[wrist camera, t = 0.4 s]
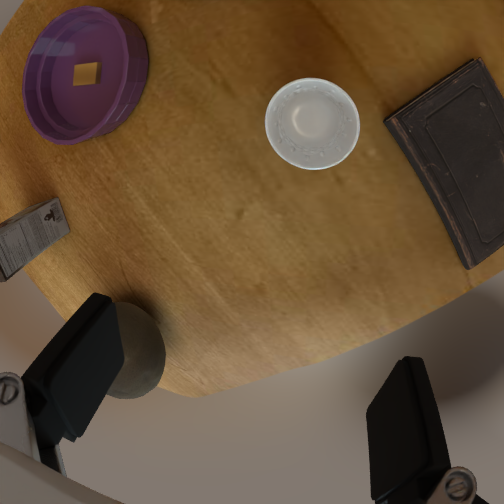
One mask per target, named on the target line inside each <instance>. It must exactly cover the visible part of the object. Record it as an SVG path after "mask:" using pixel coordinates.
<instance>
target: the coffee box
mask: <svg viewBox="0 0 504 504" xmlns="http://www.w3.org/2000/svg"><path fill="white" fill-rule="evenodd" d="M69 232H70V229H69V227H68V224H67V221H66V219H65V216H64V213H63V210H62V207H61V205H60V202H59V199H58V197H57V198H53V199H50V200H47V201H44V202H41V203H38V204H36V205H33V206H30V207H28V208H26V209H24V210H23V211H21V212H19V213H17V214H16V215H14V216H12V217H11V218H9V219H7V220H6V221H4V222H2V223H1V224H0V282H5V281H7V280H8V279H9V278H10V277H12V276H13V275H14V274H15V273H16V272H18V271H19V270H20V269H21V268H23V267H24V266H25V265H26V264H28V263H29V262H30V261H32V260H33V259H34V258H35V257H37V256H38V255H39V254H40V253H42V252H43V251H44V250H46V249H47V248H48V247H50V246H51V245H52V244H54V243H55V242H56V241H58V240H59V239H60V238H62V237H63V236H64V235H66V234H67V233H69Z"/></svg>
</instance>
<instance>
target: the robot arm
mask: <svg viewBox="0 0 504 504" xmlns="http://www.w3.org/2000/svg"><path fill="white" fill-rule="evenodd" d="M124 360H125V357H124V351H123V346H122V341H121V335H120V330H119V324H118V318H117V312H116V305H115V303H114V302H112V299H111V298H110V297H109V296H106V295H102V294H99V293H96V292H95V293H93V294H92V295H91V296H90V297H89V298H88V299H87V300H86V301H85V302H84V303H83V304H82V306H81V307H80V308H79V309H78V310H77V311H76V312H75V313H74V314H73V316H72V317H71V318H70V319H69V320H68V321H67V322H66V323H65V325H64V326H63V327H62V328H61V329H60V330H59V332H58V333H57V334H56V335H55V336H54V337H53V339H52V340H51V341H50V342H49V343H48V344H47V346H46V347H45V348H44V349H43V351H42V352H41V353H40V354H39V355H38V357H37V358H36V359H35V360H34V361H33V363H32V364H31V365H30V366H29V368H28V369H27V370H26V372H25V373H24V374H23V376H22V377H21V378H20V377H19V376H18V375H17V374H15V373H11V372H3V373H0V504H124V503H121V502H119V501H117V500H114V499H112V498H109V497H107V496H105V495H103V494H100V493H98V492H96V491H94V490H92V489H90V488H87V487H85V486H83V485H81V484H79V483H77V482H75V481H73V480H71V479H69V478H67V475H66V471H65V468H64V464H63V460H62V456H61V452H60V448H59V442H60V440H61V439H62V437H64V438H66V439H68V440H70V441H71V442H75V440H76V438H77V437H81V436H82V435H83V434H84V432H85V430H86V428H87V426H88V425H89V423H90V421H91V419H92V418H93V416H94V414H95V412H96V411H97V409H98V407H99V405H100V404H101V402H102V400H103V398H104V397H105V395H106V393H107V392H108V390H109V388H110V387H111V385H112V383H113V381H114V380H115V378H116V376H117V375H118V373H119V371H120V370H121V368H122V366H123V364H124ZM366 420H367V432H368V445H369V461H370V484H371V498H372V500H375V504H489V503H487V502H486V501H485V500H483V499H482V498H481V497H479V496H478V495H477V494H476V491H477V482H476V478H475V477H474V475H473V473H472V472H471V471H470V470H468V469H466V468H464V467H458V466H457V467H453V468H451V463H450V459H449V453H448V449H447V444H446V440H445V435H444V431H443V427H442V423H441V419H440V415H439V411H438V407H437V404H436V401H435V398H434V394H433V391H432V388H431V384H430V381H429V377H428V374H427V371H426V368H425V365H424V361H423V359H422V358H420V357H410V356H405V357H404V358H403V359H402V360H399V361H398V362H397V363H396V365H395V367H394V368H393V370H392V371H391V373H390V375H389V376H388V378H387V379H386V381H385V383H384V384H383V386H382V388H381V389H380V390H379V392H378V393H377V395H376V396H375V398H374V399H373V401H372V402H371V404H370V405H369V407H368V409H367V412H366Z"/></svg>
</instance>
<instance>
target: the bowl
mask: <svg viewBox="0 0 504 504" xmlns="http://www.w3.org/2000/svg"><path fill="white" fill-rule="evenodd" d="M94 62H101V63H102V69H101V79H100V84H91V85H79V86H73V78H74V67H75V65H79V64H86V63H94ZM147 69H148V54H147V48H146V43H145V39H144V37H143V35H142V34H141V32H140V30H139V29H138V27H137V25H136V24H135V23H134V22H132V21H131V20H129V19H128V18H126V17H125V16H124V15H122V14H119V13H116V12H113V11H110V10H107V9H104V8H100V7H93V6H81V7H77V8H74V9H70V10H67V11H66V12H64V13H62V14H61V15H59V16H58V17H56V18H55V19H53V20H52V21H51V22H50V23H49V24H48V25H47V26H46V28H45V29H44V30H43V31H42V32H41V33H40V34H39V36H38V38H37V39H36V41H35V43H34V45H33V47H32V48H31V50H30V52H29V55H28V58H27V61H26V65H25V68H24V73H23V84H22V95H23V101H24V107H25V111H26V113H27V116H28V118H29V120H30V122H31V124H32V126H33V127H34V129H35V130H36V131H37V132H38V133H39V134H40V135H41V136H42V137H43V138H45V139H47V140H49V141H51V142H53V143H55V144H62V145H73V144H77V143H80V142H83V141H87V140H90V139H94V138H96V137H99V136H102V135H105V134H107V133H110V132H111V131H113V130H114V129H115V128H116V127H118V126H119V125H120V124H121V123H123V122H124V121H125V120H126V119H127V117H128V116H129V114H130V113H131V112H132V110H133V109H134V107H135V106H136V105H137V103H138V101H139V99H140V96H141V93H142V91H143V88H144V86H145V83H146V78H147Z"/></svg>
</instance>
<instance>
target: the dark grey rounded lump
mask: <svg viewBox="0 0 504 504" xmlns="http://www.w3.org/2000/svg"><path fill="white" fill-rule="evenodd" d="M114 303H115V305H116V312H117V318H118V324H119V330H120V335H121V341H122V346H123V351H124V357H125V360H124V364H123V366H122V368H121V370H120V371H119V373H118V375H117V376H116V378H115V380H114V381H113V383H112V385H111V387H110V388H109V390H108V392H107V393H106V394H107V395H110V396H112V397H115V398H119V399H133V398H138V397H141V396H144V395H145V394H146V393H148V392H149V391H151V390H152V389H153V388H155V387H156V386H157V384H158V383H159V381H160V379H161V376H162V374H163V371H164V366H165V357H166V352H165V345H164V341H163V338H162V336H161V333H160V331H159V329H158V327H157V325H156V324H155V322H154V321H153V319H152V318H151V317H150V316H149V315H148V314H147V313H146V312H145V311H144V310H142V309H141V308H139V307H137V306H136V305H133V304H131V303H127V302H114Z"/></svg>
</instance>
